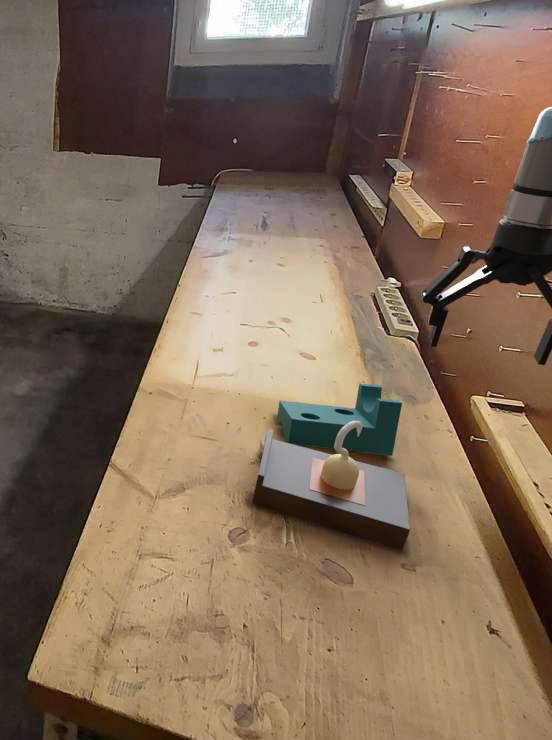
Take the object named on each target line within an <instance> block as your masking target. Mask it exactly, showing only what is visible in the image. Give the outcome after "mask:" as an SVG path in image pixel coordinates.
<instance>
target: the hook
mask: <svg viewBox="0 0 552 740" xmlns="http://www.w3.org/2000/svg"><path fill="white" fill-rule="evenodd" d="M355 427H356V428H357V431H358V436H359V434H360V432H361V430H362V424H361V422H360V421H352V422H349V423H348V424H346V425H345V426H344V427H342V428H341V430H340V431H339V433H338V435H337V437H336V440H335V445H334V448H335V449H334V450H335V452H336V453H335V454H331V456H330V457H328V458H327V459H326V460H325V462H324V464H323V468H322V472H321V477H322V479H323V480H324V481H325V482H326V483H327V484H329V485H330V486H332V487H335V488H338V489H342V490H350V489H353V488H354V487H355V485H356V482H357V479H358V476H359V468H358V465H357V464H356V462H355V461H356V460H354V458H352V457H350V456H349V451H347V450H346V449H345V448H342V443H343V440H344V438H345V436H346V434H347V433H348V432H349V431H350V430H351V429H353V428H355Z"/></svg>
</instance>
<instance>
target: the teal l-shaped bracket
mask: <svg viewBox="0 0 552 740" xmlns="http://www.w3.org/2000/svg"><path fill="white" fill-rule="evenodd" d="M382 390H383V387H382V386H381V385H379V384H370V383H359V384H358V390H357V395H356V402H355V407H354V408H353V407H346V406H345V407H344V406H335V405H326V404H325V405H324V404H315V403H307V402H306V403H305V402H297V401H287V400H279V402H278V408H277V416H276V417H277V419H278V420H279V422H280V424H281V425H282V431H281V434H282V435H283V437H284V439H285V440H286V443H289V444H293V445H297V446H308V447H314V448H322V449H323V448H324V449H333V450H335V448H334V445H335V440H336V437H337V435H338V433H339V431H340V430H341V428H342V427H344V426H345V425H346V424H348V423H349V422H352V421H360V422H361V424H362V430H361V432H360V434H359V436H358V431H357V428H356V427H355V428H353V429H351V430H350V431H349V432H348V433H347V434H346V436H345V438H344V440H343V443H342V448H345V449H346V450H347V451H348V452H355V453H357V452H358V453H364V454H373V455H380V456H389V457H393V454H394V448H395V443H396V439H397V433H398V427H399V422H400V417H401V413H402V412H401V411H402V407H403V402H401V401H400V400H398V399H387V398H382Z"/></svg>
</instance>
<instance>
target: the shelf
mask: <svg viewBox="0 0 552 740" xmlns="http://www.w3.org/2000/svg"><path fill="white" fill-rule="evenodd" d="M273 436H274V429H271V428H267V432H266V436H265V440H264V446H263V450H262V455H261V459H260V465H259V469H258V473H257V478H256V482H255V487H254V492H253V495H252V501H251V504H252V505H255V506H259V507H261V508H265V509H267V510H271V511H274V512H277V513H280V514H283V515H287V516H289V517H293V518H297V519H300V520H302V521H306V522H309V523H312V524H315V525H319V526H322V527H325V528H329V529H331V530H335V531H338V532H341V533H345V534H346V535H347V534H348V535H351V536H354V537H357V538H361V539H363V540H366V541H369V542H373V543H376V544H379V545H383V546H385V547H388V548H392V549H396V550H399V551H403V549H404V547H405V545H406V542H407V540H408V537H409V534H410V532H411V524H410V514H409V508H408V507H409V506H408V504H409V503H408V498H407V497H408V496H407V489H406V479H405V472H400V471H396V470H392V469H389V468H384V467H381V466H377V465H373V464H369V463H365V462H362V461H358V460H354V461H355V462H356V464H357V465H358V468H359V476H358V479H357V482H356V485H355V487H354V488H353V489H350V490H342V489H338V488H335V487H332V486H330V485H329V484H327V483H326V482H325V481H324V480H323V479H322V477H321V472H322V468H323V464H324V462H325V460H326V459H327V458H328V457H330V456H331V455H332V453H327V452H324V451H319V450H316V449H312V448H308V447H305V446H302V445H298V444H289V443H288V442H287V441H286V442H285V441H281V440H279V439H274V438H273Z"/></svg>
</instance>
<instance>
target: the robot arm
mask: <svg viewBox="0 0 552 740" xmlns="http://www.w3.org/2000/svg"><path fill="white" fill-rule="evenodd" d="M523 151H524V152H523V155H522V157H521V161H520V163H519V167H518V170H517V173H516V175H515V179H514V182H513V184H512V187H511V189H510V192H509V194H508V197H507V200H506V203H505V206H504V208H503V211H502V216H503V217H504V218H501V219H500V220H499V222H498V224H497V227H496V228H495V232H494V235H493V238H492V241H491V243H490V246H489V247H488V248H487V249H486V250H485V251H483V250H480V249H473V248H472V247H471V246H470V245H465V246H463V247H462V248H461V251H460V252H459V254H458V256H457V259H455V260H454V261H453V262H452V263H451V264H450V265H449V266H448V267H447V268H446V269H445V270H444V271H443V272H442V273H441V274H439V276H437V277H436V278H435V279H434V280H433V281H432V282H431V283H430V284H429V285H427V287H426V288H424V290H422V292H420V296H421V300H422V302H423V303H424V304H429V305H430V310H429V313H428V316H427V323H428V325H429V326H432V328H431V331H430V334H429V337H428V343H429V345H430V347H432V348H437V345H438V343H439V340H440V337H441V334H442V331H443V329H444V325H445V322H446V319H447V317H448V314H449V308H448V306H449V305H450V304H452V303H454V302H455V301H457V300H459V299H461V298H463V297H465V296H466V295H468V294H469V293H470V294H471V292H473V291H475V290H477V289H479V288H480V287H482V286H484V285H488V284H489V283H492V282H494V281H497V282H498V283H499V284H515V285H517V286H523V287H527V285H531V284H534V286H536V288H537V289H538V291H539V292H540V294H541V295H542V297H543V298H544V300H545V301H546V303H547V304H548V306H549V307H550V308H551V309H552V287H551V285H550V284H549V282H548V281H547V279H546V278H545V276H547V275H549V274H550V273H551V272H552V106H549V107H547V108H545V109H543V110H542V111H541V112H540V113H539V115H538V117H537V119H536V122H535V124H534V127H533V129H532V131H531V134H530V135H529V138H528V139H527V140H526V146H525V148H524V150H523ZM480 260H483V262H484V264H485V266H483V267H481V268H480V269H478V270H476V271H475V273H473V274H471V275H470V276H468V277H466V278H465V279H463V280H462V281H460V282H458V283H456V284H454V285H453V286H451V287H449V288H448V286H450V285H451V284H452V283H453V282H454V281H455V280H456V279H457V278H458V277H459V276H461V275H462V274H463V273H464V272H465V271H466V270H467V269H468V268H469V266H470V265H474V264H476V263H477V262H478V261H480ZM446 288H448V289H446ZM445 289H446V290H445ZM551 352H552V318H549V320H548V322H547V325H546V327H545V329H544V331H543V334H542V336H541V339H540V341H539V343H538V345H537V348H536V350H535V351H534V354H533V358H534V359H535V361H536V363H537V364H538V365H539V366H546V364H547V361H548V359H549V357H550V355H551Z"/></svg>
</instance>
